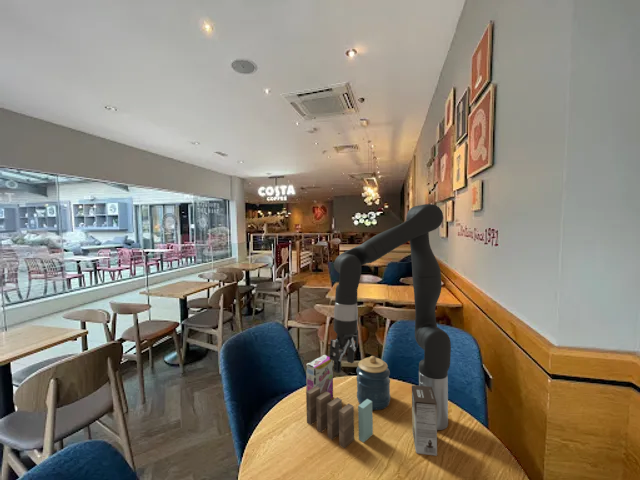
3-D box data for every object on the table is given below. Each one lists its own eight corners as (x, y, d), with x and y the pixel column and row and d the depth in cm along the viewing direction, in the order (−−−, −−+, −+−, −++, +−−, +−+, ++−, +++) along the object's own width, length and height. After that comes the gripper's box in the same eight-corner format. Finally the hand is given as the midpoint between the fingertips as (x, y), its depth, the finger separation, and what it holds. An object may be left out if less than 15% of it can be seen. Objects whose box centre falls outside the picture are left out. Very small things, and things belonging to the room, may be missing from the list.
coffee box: (411, 431, 91) (411, 384, 91) (432, 434, 90) (431, 385, 89) (415, 453, 82) (414, 401, 82) (438, 456, 81) (437, 403, 80)
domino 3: (342, 431, 92) (341, 399, 91) (332, 440, 88) (331, 406, 88) (337, 428, 93) (337, 397, 93) (327, 437, 90) (327, 403, 89)
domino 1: (320, 418, 99) (320, 388, 98) (310, 425, 95) (310, 394, 95) (316, 415, 100) (316, 385, 100) (306, 422, 97) (306, 391, 96)
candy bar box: (315, 411, 103) (314, 368, 102) (306, 406, 106) (305, 364, 105) (334, 397, 111) (333, 357, 110) (324, 392, 114) (323, 353, 114)
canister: (351, 393, 113) (351, 351, 112) (380, 388, 116) (379, 347, 116) (365, 413, 100) (364, 366, 100) (396, 407, 104) (396, 361, 103)
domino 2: (331, 424, 95) (330, 393, 95) (321, 432, 92) (320, 400, 91) (327, 422, 97) (326, 391, 96) (316, 429, 93) (316, 397, 93)
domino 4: (354, 439, 88) (353, 405, 88) (344, 448, 85) (343, 413, 84) (349, 436, 90) (348, 403, 89) (339, 445, 86) (338, 410, 86)
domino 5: (372, 434, 90) (372, 401, 90) (363, 442, 87) (363, 408, 86) (367, 431, 92) (367, 398, 91) (358, 439, 88) (358, 405, 88)
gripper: (345, 324, 80) (343, 379, 80) (366, 313, 92) (364, 362, 92) (323, 319, 84) (321, 372, 84) (346, 310, 96) (344, 356, 96)
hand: (344, 367), depth 88 cm, fingers open, 8 cm apart
